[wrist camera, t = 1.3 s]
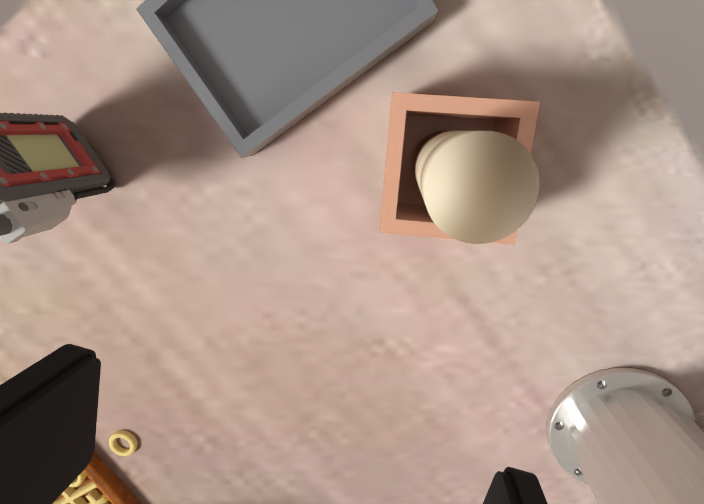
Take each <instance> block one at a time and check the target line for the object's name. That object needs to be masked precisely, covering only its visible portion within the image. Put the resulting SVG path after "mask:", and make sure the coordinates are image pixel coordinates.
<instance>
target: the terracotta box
mask: <svg viewBox="0 0 704 504" xmlns="http://www.w3.org/2000/svg"><path fill="white" fill-rule="evenodd" d="M539 106H540V102H536V101H520V100H504V99H489V98H473V97H457V96H442V95H426V94H410V93H394V92H392V98H391V109H390V120H389V131H388V143H387V154H386V165H385V177H384V188H383V199H382V211H381V222H380V232H381V233H392V234H403V235H414V236H425V237H436V238H447V239H454V238H452V237H450V236H448V235H447V234H445V233H444V232H443V231H442V230H440V229H439V228H438V227H437V225H436V224H435V223H434V222H433V220H432V219H431V217H430V215H429V213H428V210H427V208H426V205H425V202H424V199H423V197H422V194H421V191H420V188H419V186H418V183H417V180H416V177H415V174H414V171H413V157H414V153H415V151H416V149H417V147H418V145H419V144H420V143H421V142H422V141H423V140H424V139H425V138H426V137H427V136H429V135H431V134H433V133H435V132H439V131H494V132H500V133H503V134H506V135H508V136H511V137H513V138H514V139H516V140H517V141H519V142H520V143H521V144H522V145H524V146H525V147H526V149H527V150H528V151H529V152H530V154H531V151H532V145H533V139H534V134H535V128H536V123H537V117H538V112H539ZM516 234H517V230H516V231H515V232H513V233H512V234H510V235H509V236H507V237H505V238H503V239H500V240H498V241H495V242H491V243H502V244H513V245H515V239H516Z"/></svg>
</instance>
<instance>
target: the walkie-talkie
mask: <svg viewBox="0 0 704 504" xmlns="http://www.w3.org/2000/svg"><path fill="white" fill-rule="evenodd" d="M105 185H107V187H103V186H105ZM114 187H115V185H114V181H113V180H112V179H111V178H110V174H109V172H108V170H107V169H106V168H105V166H104V165H103V163H102V162H101V160H100V159H99V158H98V156H97V155H96V153H95V152H94V151H93V149H92V148H91V146H90V145H89V143H88V142H87V141H86V139H85V138H84V136H83V135H82V133H81V132H80V131H79V129H78V128H77V126H76V125H75V124H74V123H73V122H71V121H70V120H68V119H67V118H65V117H64V116H62V115H61V116H59V115H56V116H54V115H42V114H40V115H37V114H34V115H32V114H19V113H17V114H14V113H10V114H8V113H0V238H1V239H2V240H3V241H4V243H6V244H9V243H12V242H16V241H18V240H19V239H21V238H22V237H25V236H29V235H32V234H36V233H39V232H42V231H46V230H49V229H52V228H54V227H55V226H56V225H58V224H59V223H61V222H62V221H64V220H65V219H66V218H67V217H68V216H69V213H70V210H71V207H72V205H74V204H75V203H77V202H76V200H77V199H79V198H84V197H88V196H93V195H98V194H102V193H107V192H109V191H110V190H112V189H113V188H114Z"/></svg>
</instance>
